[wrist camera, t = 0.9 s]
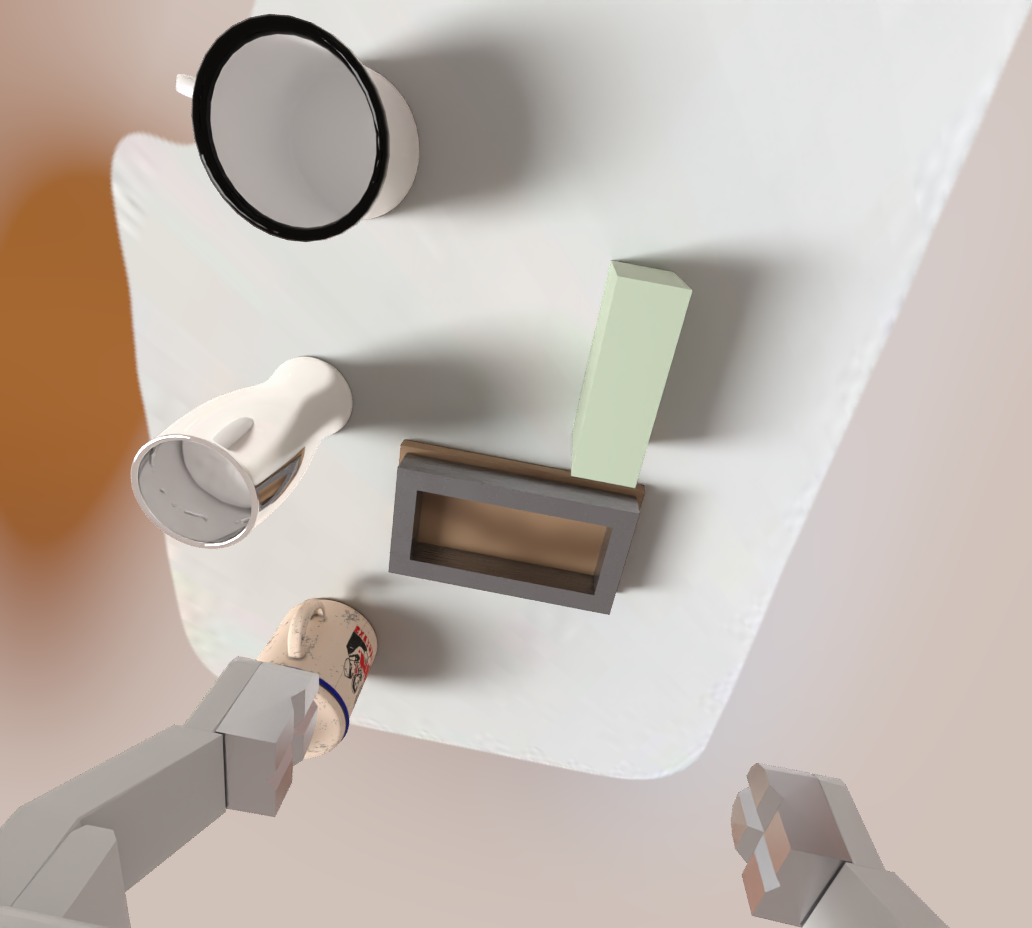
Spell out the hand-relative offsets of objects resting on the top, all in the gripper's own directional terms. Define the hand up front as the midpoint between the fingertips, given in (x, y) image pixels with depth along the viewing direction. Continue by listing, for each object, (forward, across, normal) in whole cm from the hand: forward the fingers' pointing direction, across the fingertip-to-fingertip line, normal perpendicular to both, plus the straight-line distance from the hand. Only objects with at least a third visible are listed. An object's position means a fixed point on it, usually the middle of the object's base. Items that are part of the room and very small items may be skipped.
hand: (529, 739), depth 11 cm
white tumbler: (+32, +17, +7) cm, 37 cm away
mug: (+32, +16, -10) cm, 37 cm away
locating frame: (+32, +1, +14) cm, 35 cm away
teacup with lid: (+33, +15, +28) cm, 46 cm away
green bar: (+32, -4, 0) cm, 33 cm away
